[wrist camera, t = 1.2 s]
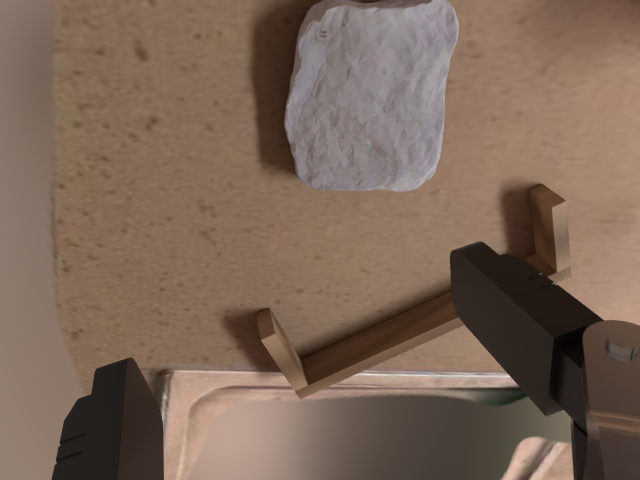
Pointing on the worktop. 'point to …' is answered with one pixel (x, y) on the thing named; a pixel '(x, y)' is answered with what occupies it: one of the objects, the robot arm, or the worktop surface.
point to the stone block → (370, 93)
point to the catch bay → (412, 313)
